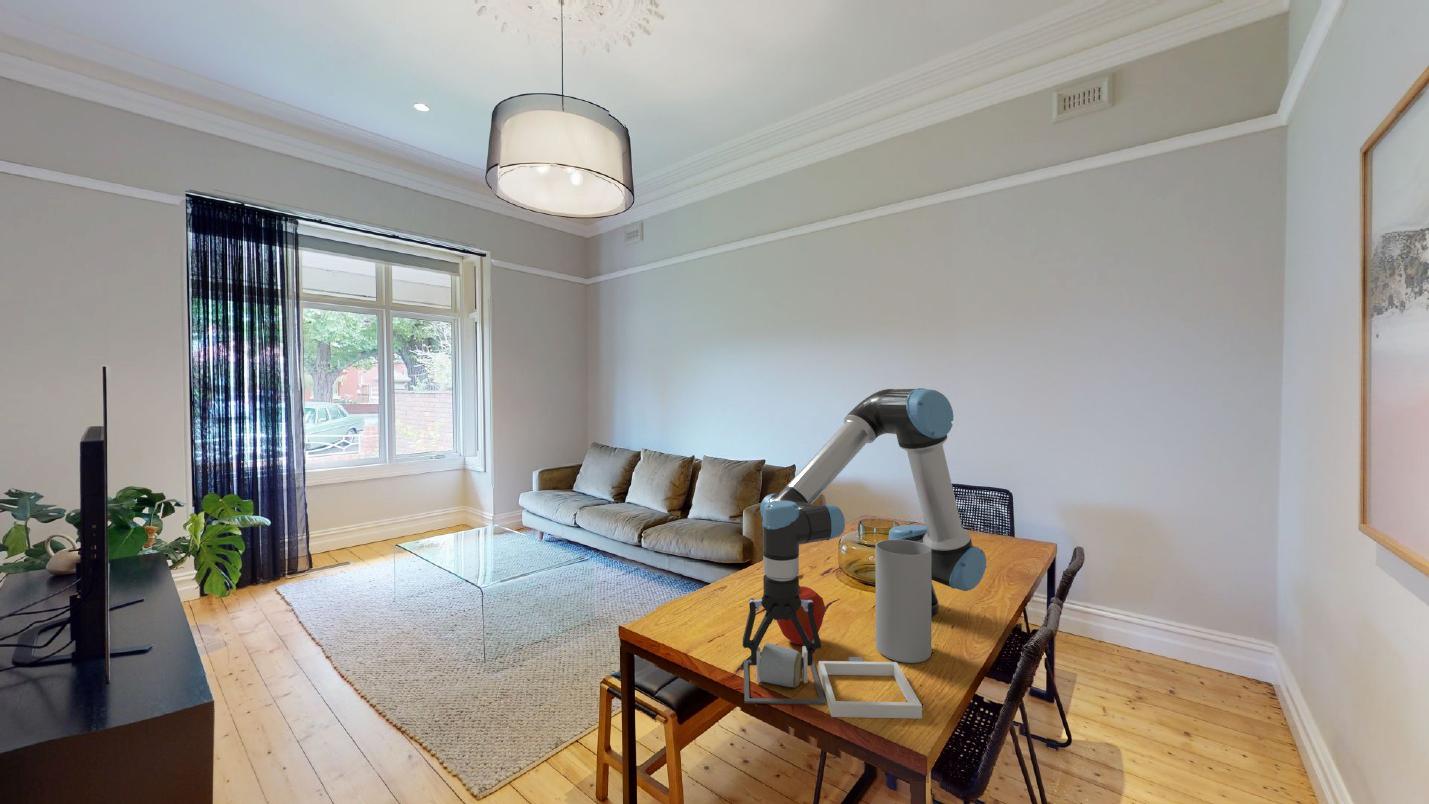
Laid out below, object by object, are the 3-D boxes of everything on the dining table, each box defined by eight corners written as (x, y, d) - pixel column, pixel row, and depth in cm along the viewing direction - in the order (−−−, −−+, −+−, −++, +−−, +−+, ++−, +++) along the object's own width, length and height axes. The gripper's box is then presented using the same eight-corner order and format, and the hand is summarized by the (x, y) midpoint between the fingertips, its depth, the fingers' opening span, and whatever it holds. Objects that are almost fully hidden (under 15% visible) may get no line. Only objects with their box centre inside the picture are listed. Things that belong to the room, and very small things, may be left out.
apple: (765, 644, 130) (765, 587, 130) (789, 626, 139) (789, 573, 139) (811, 659, 122) (810, 599, 122) (833, 639, 132) (833, 583, 132)
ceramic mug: (797, 695, 108) (797, 658, 108) (758, 688, 110) (758, 651, 110) (806, 670, 118) (806, 636, 118) (770, 664, 120) (770, 630, 120)
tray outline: (813, 662, 121) (813, 661, 121) (825, 704, 105) (825, 702, 105) (743, 661, 121) (743, 660, 121) (744, 703, 106) (744, 701, 106)
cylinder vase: (869, 638, 132) (869, 539, 132) (920, 639, 132) (920, 539, 131) (884, 664, 120) (884, 555, 119) (939, 665, 119) (940, 555, 119)
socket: (893, 668, 118) (893, 657, 118) (922, 718, 100) (922, 705, 100) (817, 667, 119) (817, 656, 119) (831, 717, 101) (831, 704, 101)
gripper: (829, 569, 116) (830, 670, 116) (729, 568, 117) (730, 669, 117) (836, 581, 108) (836, 689, 109) (729, 581, 109) (730, 688, 110)
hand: (781, 679), depth 113 cm, fingers closed on ceramic mug, 9 cm apart
